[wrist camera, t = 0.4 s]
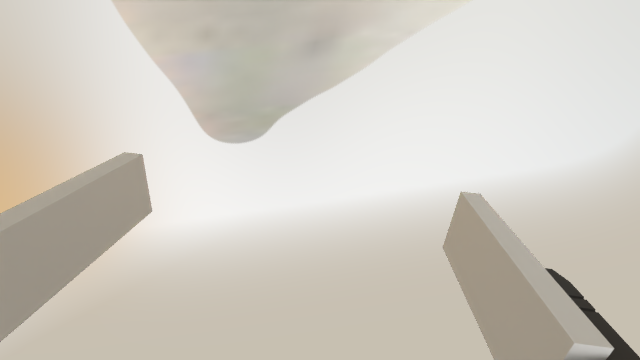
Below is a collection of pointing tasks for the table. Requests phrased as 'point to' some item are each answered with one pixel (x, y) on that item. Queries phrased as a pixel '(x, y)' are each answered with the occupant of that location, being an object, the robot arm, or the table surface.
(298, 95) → the table surface
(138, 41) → the table surface
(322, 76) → the table surface
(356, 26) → the table surface
